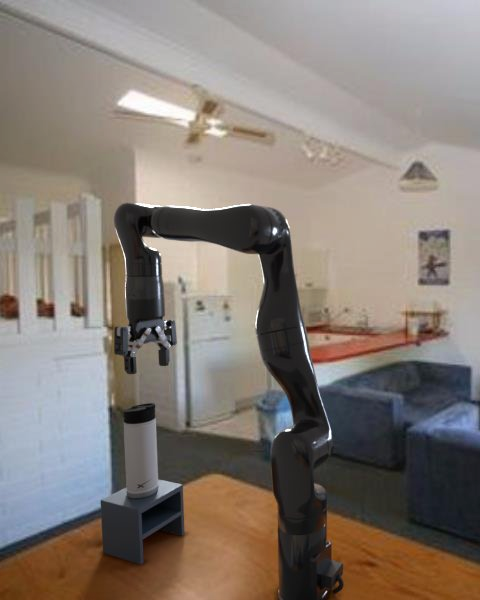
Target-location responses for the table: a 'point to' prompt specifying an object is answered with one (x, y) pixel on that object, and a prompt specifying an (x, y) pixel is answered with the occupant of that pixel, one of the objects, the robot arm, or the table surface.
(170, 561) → the table surface
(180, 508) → the shelf
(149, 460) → the travel mug
